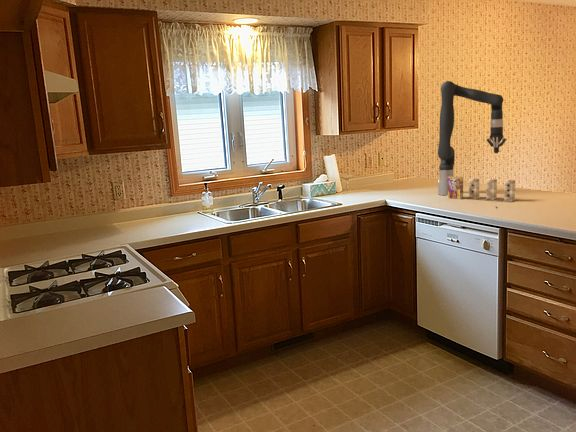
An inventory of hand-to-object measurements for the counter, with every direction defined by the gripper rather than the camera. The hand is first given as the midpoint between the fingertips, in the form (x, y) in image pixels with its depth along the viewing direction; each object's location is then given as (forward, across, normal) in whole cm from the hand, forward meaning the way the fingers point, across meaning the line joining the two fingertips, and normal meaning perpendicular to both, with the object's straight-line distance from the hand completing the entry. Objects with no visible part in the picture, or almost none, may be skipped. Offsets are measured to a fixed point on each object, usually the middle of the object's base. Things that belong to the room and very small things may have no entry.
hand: (496, 153), depth 323 cm
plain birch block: (+25, +9, -27) cm, 38 cm away
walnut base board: (+27, +9, -28) cm, 40 cm away
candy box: (+27, -12, -32) cm, 44 cm away
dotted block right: (+26, +20, -27) cm, 42 cm away
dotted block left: (+26, -2, -27) cm, 37 cm away
